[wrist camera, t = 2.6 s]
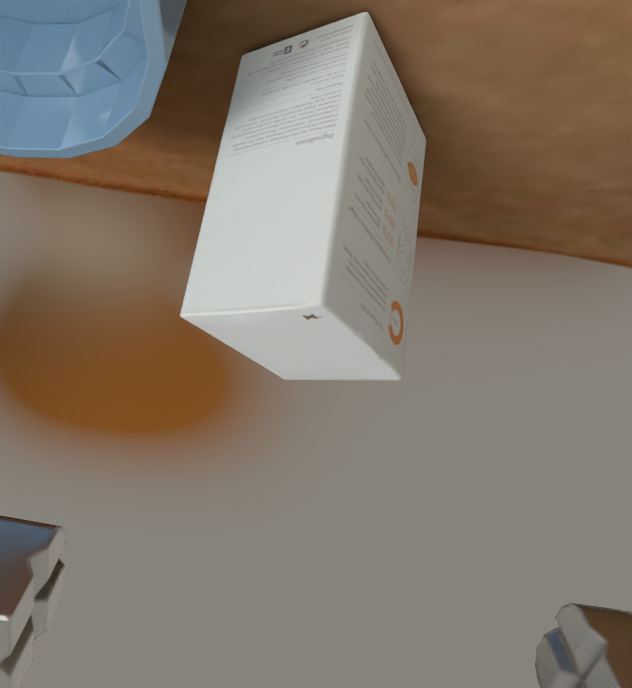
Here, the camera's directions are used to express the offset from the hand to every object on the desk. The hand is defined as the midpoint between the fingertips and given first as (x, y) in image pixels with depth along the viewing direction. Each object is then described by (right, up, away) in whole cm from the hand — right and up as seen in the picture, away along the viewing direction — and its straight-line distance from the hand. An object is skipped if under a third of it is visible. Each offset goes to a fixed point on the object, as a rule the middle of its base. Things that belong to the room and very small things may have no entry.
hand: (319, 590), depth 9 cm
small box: (+1, +16, +18) cm, 24 cm away
